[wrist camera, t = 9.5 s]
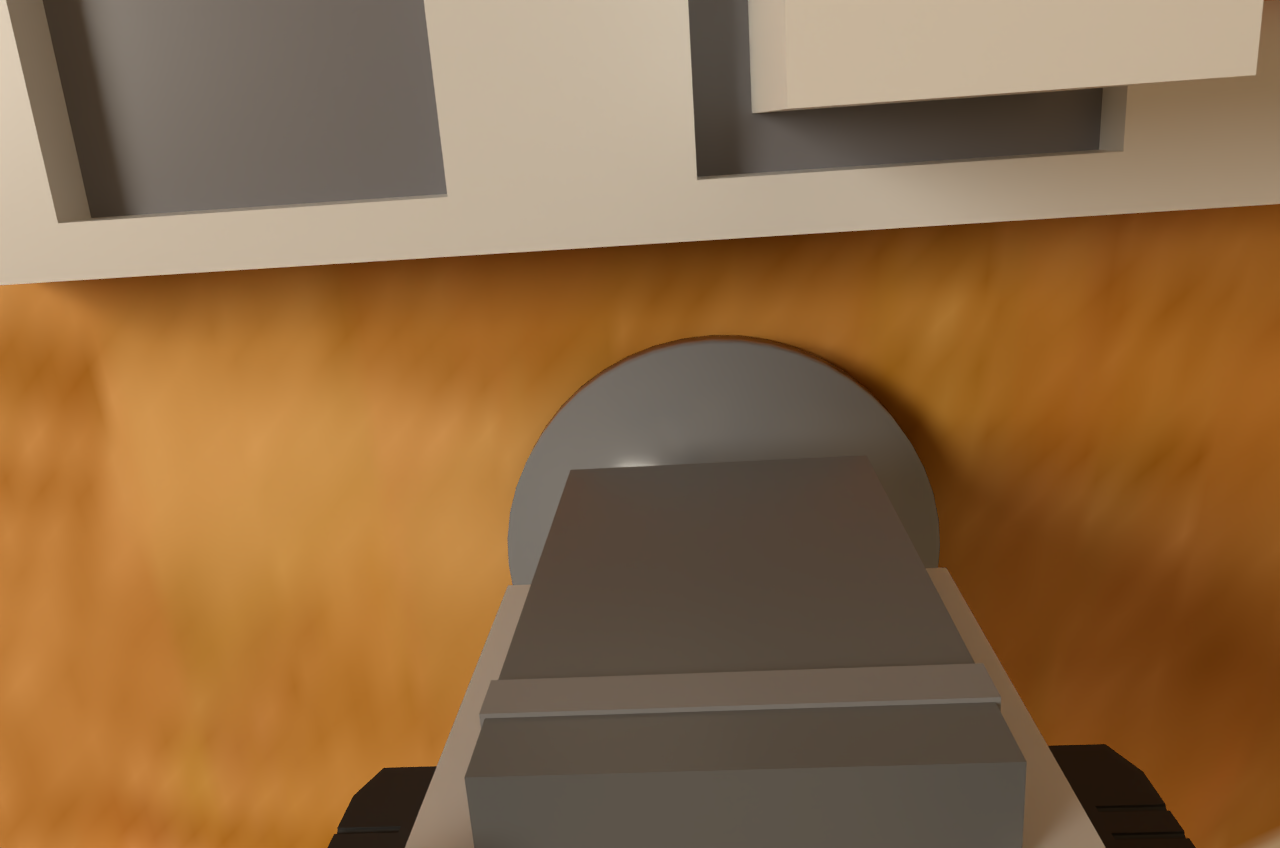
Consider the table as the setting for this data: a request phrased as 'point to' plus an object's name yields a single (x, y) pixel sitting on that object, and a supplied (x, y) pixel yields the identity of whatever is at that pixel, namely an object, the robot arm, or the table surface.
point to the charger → (739, 675)
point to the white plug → (987, 47)
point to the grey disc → (717, 429)
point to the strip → (534, 137)
